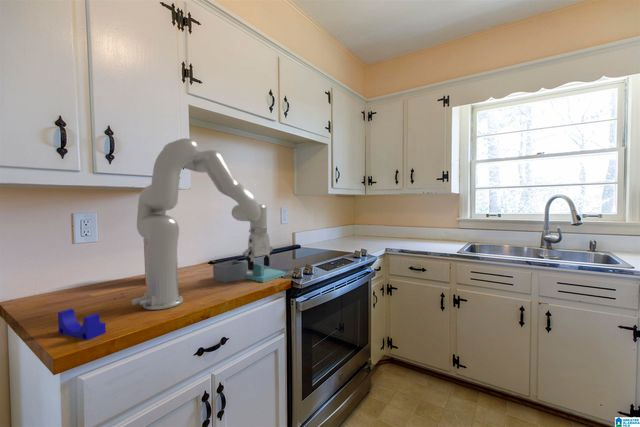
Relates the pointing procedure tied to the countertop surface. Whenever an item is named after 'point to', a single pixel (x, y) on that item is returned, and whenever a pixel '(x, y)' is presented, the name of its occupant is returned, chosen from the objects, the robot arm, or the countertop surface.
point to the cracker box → (145, 258)
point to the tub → (229, 271)
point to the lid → (264, 273)
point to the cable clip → (74, 329)
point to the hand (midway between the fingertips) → (258, 267)
